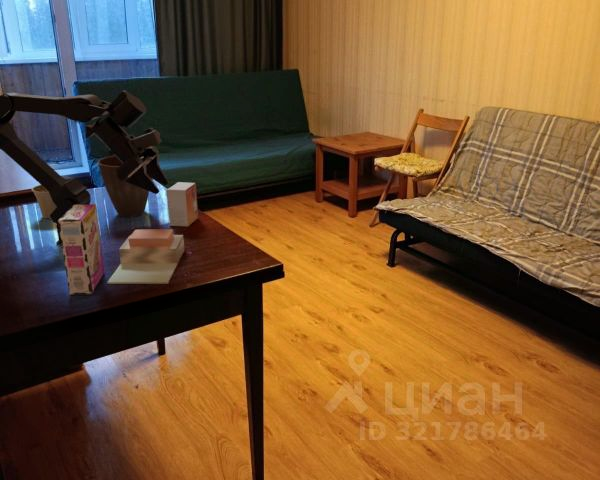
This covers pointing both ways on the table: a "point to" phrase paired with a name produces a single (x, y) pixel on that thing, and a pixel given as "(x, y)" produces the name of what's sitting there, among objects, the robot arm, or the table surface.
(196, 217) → the small box
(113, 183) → the plant pot
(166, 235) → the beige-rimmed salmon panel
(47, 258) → the table surface
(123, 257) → the deck
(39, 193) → the flower pot
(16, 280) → the table surface
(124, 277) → the mat
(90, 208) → the candy bar box
